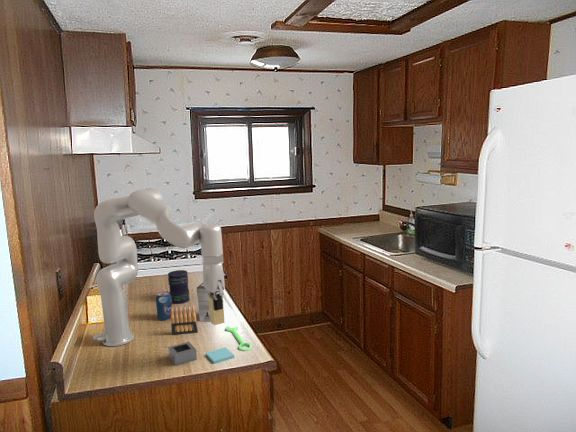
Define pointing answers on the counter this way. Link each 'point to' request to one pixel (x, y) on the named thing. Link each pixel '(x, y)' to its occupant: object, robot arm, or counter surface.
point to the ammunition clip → (183, 321)
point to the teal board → (219, 355)
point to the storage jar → (178, 286)
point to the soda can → (163, 305)
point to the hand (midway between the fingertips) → (216, 307)
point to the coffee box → (203, 303)
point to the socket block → (182, 353)
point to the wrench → (238, 338)
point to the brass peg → (215, 312)
